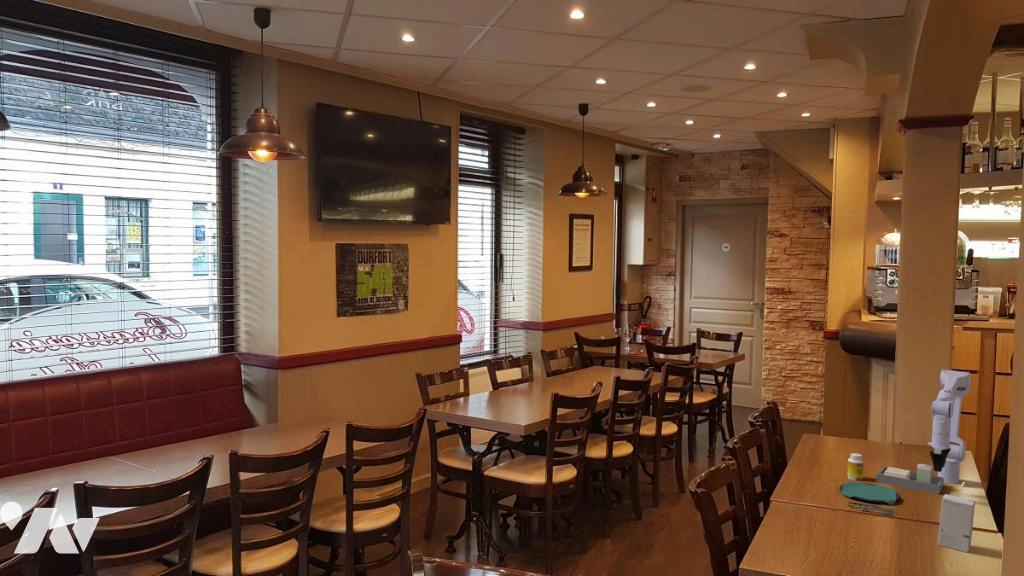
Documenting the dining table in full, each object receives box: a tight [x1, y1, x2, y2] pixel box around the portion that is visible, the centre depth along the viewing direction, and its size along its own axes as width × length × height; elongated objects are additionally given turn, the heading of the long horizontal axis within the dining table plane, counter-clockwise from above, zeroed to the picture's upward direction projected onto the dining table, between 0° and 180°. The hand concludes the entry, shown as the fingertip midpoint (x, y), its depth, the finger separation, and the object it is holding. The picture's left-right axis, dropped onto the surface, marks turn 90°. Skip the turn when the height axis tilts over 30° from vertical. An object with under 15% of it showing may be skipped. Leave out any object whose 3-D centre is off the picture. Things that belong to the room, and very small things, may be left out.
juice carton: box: [916, 463, 934, 484], centre depth 272 cm, size 4×4×8 cm
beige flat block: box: [883, 466, 911, 480], centre depth 277 cm, size 9×8×4 cm
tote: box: [875, 465, 945, 495], centre depth 275 cm, size 13×21×4 cm, turn 52°
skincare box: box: [937, 493, 976, 553], centre depth 217 cm, size 8×6×15 cm
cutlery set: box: [839, 481, 900, 517], centre depth 258 cm, size 20×30×2 cm, turn 152°
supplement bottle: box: [846, 452, 864, 482], centre depth 280 cm, size 6×6×10 cm
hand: (939, 468), depth 264 cm, fingers open, 7 cm apart
